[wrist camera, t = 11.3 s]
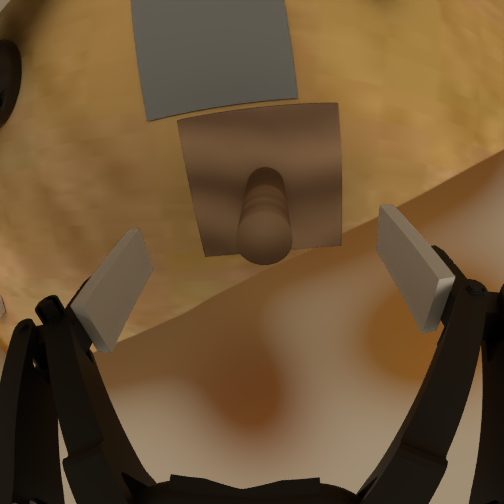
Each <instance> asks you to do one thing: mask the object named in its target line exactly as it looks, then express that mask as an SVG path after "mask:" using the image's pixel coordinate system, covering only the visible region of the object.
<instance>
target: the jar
mask: <svg viewBox="0 0 504 504" xmlns="http://www.w3.org/2000/svg"><path fill="white" fill-rule="evenodd" d="M4 312H5V307H4V304H3V300H2V297H1V296H0V317H1V316H2V315H3V314H4Z"/></svg>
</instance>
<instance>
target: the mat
mask: <svg viewBox="0 0 504 504" xmlns="http://www.w3.org/2000/svg"><path fill="white" fill-rule="evenodd" d="M131 9H132V20H133V30H134V39H135V47H136V55H137V62H138V69H139V76H140V82H141V89H142V95H143V101H144V107H145V112H146V118H147V121H151V120H155V119H159V118H163V117H168V116H172V115H177V114H181V113H186V112H191V111H197V110H202V109H208V108H214V107H220V106H226V105H233V104H241V103H248V102H257V101H267V100H278V99H291V98H298V94H297V85H296V77H295V69H294V61H293V54H292V47H291V40H290V33H289V27H288V21H287V15H286V9H285V3H284V0H131Z"/></svg>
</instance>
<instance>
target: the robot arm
mask: <svg viewBox="0 0 504 504" xmlns="http://www.w3.org/2000/svg"><path fill="white" fill-rule="evenodd" d="M20 79H21V60H20V55H19V51H18V49H17V47H16V45H15V44H14V43H13V42H12V41H10V40H6V39H2V40H0V127H1V126H2V125H3V124H4V123H5V122H6V120H7V119H8V117H9V115H10V114H11V111H12V109H13V107H14V104H15V102H16V98H17V95H18V91H19V86H20ZM378 223H379V224H378V234H377V245H376V250H377V252H378V254H379V256H380V257H381V259H382V261H383V262H384V264H385V266H386V268H387V269H388V271H389V273H390V275H391V276H392V278H393V280H394V282H395V284H396V285H397V287H398V289H399V291H400V293H401V295H402V296H403V298H404V300H405V302H406V304H407V306H408V307H409V310H410V312H411V314H412V316H413V318H414V320H415V322H416V324H417V326H418V328H419V330H420V332H421V334H423V333H427V332H432V331H436V330H437V328H438V325H439V323H440V320H441V321H442V323H443V325H444V329H443V331H442V334H441V336H440V338H439V341H438V343H437V348H436V351H435V353H434V356H433V359H432V361H431V364H430V366H429V369H428V371H427V373H426V376H425V378H424V381H423V383H422V385H421V387H420V389H419V392H418V394H417V396H416V398H415V400H414V402H413V404H412V406H411V408H410V410H409V412H408V414H407V416H406V418H405V420H404V422H403V424H402V426H401V428H400V429H399V431H398V433H397V435H396V436H395V438H394V440H393V441H392V443H391V445H390V447H389V448H388V450H387V452H386V453H385V455H384V457H383V458H382V459H381V461H380V463H379V464H378V466H377V467H376V469H375V470H374V471H373V473H372V474H371V475H370V477H369V478H368V479H367V480H366V482H365V483H364V484H363V486H362V487H361V488H360V490H359V491H358V492H357V494H354V493H352V492H350V491H348V490H346V489H344V488H341V487H338V486H334V485H329V484H322V483H320V478H309V479H298V480H281V481H277V482H273V483H269V484H265V485H261V486H257V487H252V488H247V489H238V488H234V487H231V486H227V485H224V484H220V483H217V482H214V481H211V480H208V479H204V478H195V477H186V476H178V475H172V474H171V476H170V481H166V482H161V483H156V482H155V481H154V479H153V478H152V477H151V476H150V475H149V474H148V473H147V472H146V470H145V469H144V467H143V466H142V464H141V462H140V460H139V458H138V457H137V455H136V453H135V451H134V449H133V447H132V446H131V444H130V441H129V440H128V438H127V436H126V434H125V431H124V429H123V427H122V425H121V423H120V421H119V419H118V417H117V414H116V412H115V410H114V408H113V405H112V403H111V401H110V398H109V396H108V393H107V391H106V388H105V386H104V383H103V381H102V378H101V375H100V373H99V370H98V367H97V364H96V362H95V359H94V356H93V353H92V352H91V350H90V349H89V348H90V346H91V344H92V343H93V344H94V346H95V347H96V349H97V350H98V351H99V352H110V353H111V352H112V350H113V348H114V346H115V344H116V342H117V340H118V337H119V335H120V333H121V331H122V329H123V327H124V325H125V323H126V321H127V319H128V317H129V315H130V313H131V311H132V309H133V307H134V305H135V303H136V301H137V299H138V297H139V295H140V293H141V291H142V289H143V287H144V285H145V283H146V281H147V280H148V278H149V276H150V274H151V272H152V270H153V267H152V264H151V261H150V258H149V255H148V252H147V249H146V246H145V243H144V240H143V237H142V234H141V230H140V228H137V229H130V230H128V231H127V232H126V233H125V234H124V236H123V237H122V238H121V239H120V240H119V242H118V243H117V244H116V245H115V247H114V248H113V249H112V250H111V252H110V253H109V254H108V255H107V257H106V258H105V259H104V260H103V262H102V263H101V264H100V266H99V267H98V268H97V269H96V271H95V272H94V273H93V275H92V276H91V277H89V278H88V279H87V280H86V281H85V282H84V283H83V284H82V286H81V287H80V289H79V290H78V291H77V292H76V295H74V297H73V298H72V299H71V301H70V302H69V304H68V305H67V307H66V308H65V309H64V307H63V305H62V303H61V302H60V300H59V298H58V296H56V295H51V296H48V297H46V298H44V299H43V300H41V301H40V302H39V303H38V305H37V306H36V308H35V312H36V314H37V315H38V317H39V318H40V320H41V322H42V323H43V325H39V326H36V325H35V324H34V322H33V320H32V319H25V320H22V321H20V322H19V323H18V324H17V326H16V327H15V329H14V331H13V334H12V337H11V341H10V344H9V348H8V351H7V355H6V359H5V363H4V367H3V371H2V376H1V381H0V504H65V502H64V493H63V485H62V477H61V468H60V457H59V443H58V442H59V440H58V419H59V423H60V427H61V431H62V434H63V438H64V442H65V445H66V448H67V451H68V457H67V458H64V459H63V462H62V463H63V468H64V471H65V474H66V477H67V480H68V483H69V485H70V488H71V491H72V493H73V496H74V499H75V501H76V503H77V504H429V502H430V500H431V498H432V496H433V495H434V493H435V491H436V489H437V487H438V485H439V483H440V481H441V479H442V477H443V475H444V473H445V471H446V468H447V464H448V461H447V460H446V455H447V452H448V450H449V448H450V445H451V443H452V440H453V438H454V436H455V433H456V430H457V428H458V425H459V422H460V420H461V417H462V414H463V411H464V407H465V405H466V402H467V398H468V395H469V392H470V388H471V385H472V381H473V377H474V373H475V369H476V365H477V361H478V356H479V351H480V346H481V351H482V373H483V399H482V421H481V433H480V442H479V450H478V457H477V464H476V469H475V475H474V480H473V485H472V489H471V495H470V500H469V504H504V284H503V286H502V287H501V290H500V292H499V293H497V292H488V291H487V289H486V287H485V286H484V285H483V284H482V283H480V282H478V281H476V280H472V279H467V278H466V277H465V276H464V274H463V273H462V272H461V271H460V269H459V268H458V267H457V266H456V265H455V264H454V263H453V261H452V260H451V259H450V258H449V256H448V255H447V254H446V253H445V252H444V251H443V250H441V249H440V248H438V247H437V246H435V245H434V246H430V245H429V244H428V243H427V242H426V240H425V239H424V238H423V237H422V236H421V235H420V233H419V232H418V231H417V230H416V229H415V228H414V227H413V226H412V225H411V224H410V222H409V221H407V219H406V218H405V217H404V216H403V215H402V214H401V213H400V212H399V211H398V210H397V209H396V208H395V207H394V206H393V204H389V205H380V208H379V222H378ZM33 362H34V363H35V365H36V367H34V364H33Z"/></svg>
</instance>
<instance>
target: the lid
mask: <svg viewBox="0 0 504 504" xmlns="http://www.w3.org/2000/svg"><path fill="white" fill-rule="evenodd" d="M177 124H178V129H179V135H180V140H181V146H182V151H183V156H184V161H185V166H186V172H187V176H188V181H189V186H190V191H191V196H192V201H193V205H194V210H195V215H196V219H197V224H198V228H199V232H200V237H201V241H202V246H203V250H204V254H205V257H209V256H221V255H233V254H241V255H242V256H243V257H244V258H245V259H246V260H248V261H250V262H252V263H255V264H259V265H270V264H274V263H277V262H279V261H281V260H282V259H283V258H285V257H286V256H287V254H288V253H289V252H290V250H294V249H307V248H319V247H331V246H341V242H342V241H341V240H342V167H341V142H340V125H339V111H338V103H307V104H290V105H277V106H266V107H256V108H248V109H240V110H232V111H226V112H219V113H213V114H207V115H201V116H196V117H190V118H185V119H181V120H177Z"/></svg>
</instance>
